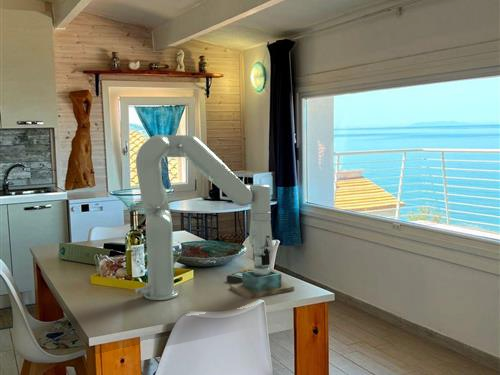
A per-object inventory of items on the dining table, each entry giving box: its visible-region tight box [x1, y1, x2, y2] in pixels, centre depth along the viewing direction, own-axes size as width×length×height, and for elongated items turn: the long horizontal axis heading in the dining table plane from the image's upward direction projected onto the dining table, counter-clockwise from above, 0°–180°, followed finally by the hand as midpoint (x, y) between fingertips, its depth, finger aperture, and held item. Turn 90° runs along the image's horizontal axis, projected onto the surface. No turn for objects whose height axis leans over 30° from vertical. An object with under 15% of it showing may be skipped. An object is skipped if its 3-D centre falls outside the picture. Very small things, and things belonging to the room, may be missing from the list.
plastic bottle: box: [252, 239, 270, 277], centre depth 210 cm, size 6×7×20 cm
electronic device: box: [226, 267, 254, 284], centre depth 227 cm, size 8×16×3 cm, turn 143°
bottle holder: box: [229, 269, 295, 300], centre depth 211 cm, size 20×15×6 cm
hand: (261, 262), depth 211 cm, fingers closed on plastic bottle, 5 cm apart
